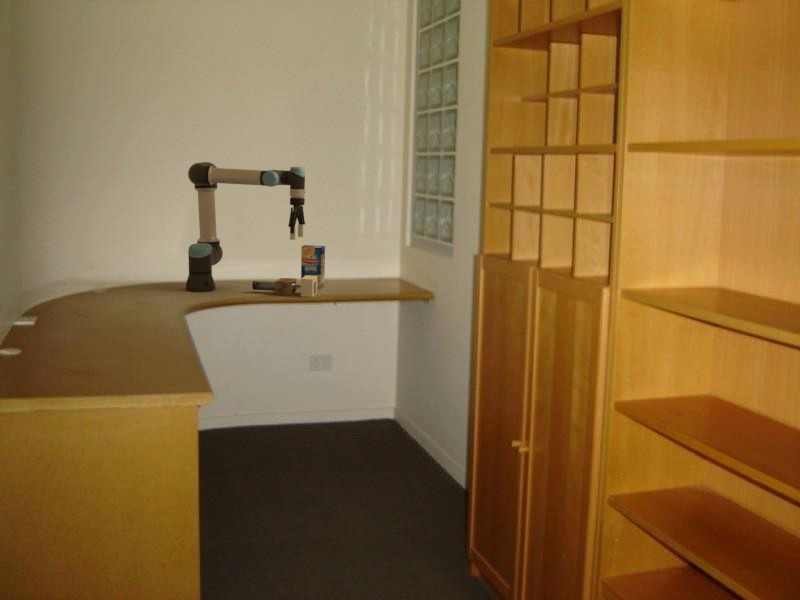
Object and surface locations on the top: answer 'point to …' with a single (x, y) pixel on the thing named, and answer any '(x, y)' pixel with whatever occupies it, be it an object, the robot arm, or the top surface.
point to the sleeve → (284, 287)
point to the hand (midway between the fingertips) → (296, 238)
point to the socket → (308, 286)
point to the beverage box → (313, 263)
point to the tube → (268, 286)
